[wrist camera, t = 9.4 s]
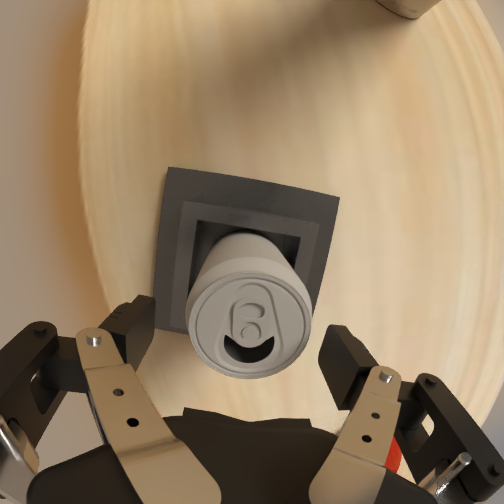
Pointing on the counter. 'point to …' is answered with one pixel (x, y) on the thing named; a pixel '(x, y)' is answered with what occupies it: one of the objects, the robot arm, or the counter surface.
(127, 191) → the counter surface
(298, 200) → the grey square socket holder
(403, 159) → the counter surface
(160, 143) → the counter surface
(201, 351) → the beverage can
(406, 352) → the counter surface
